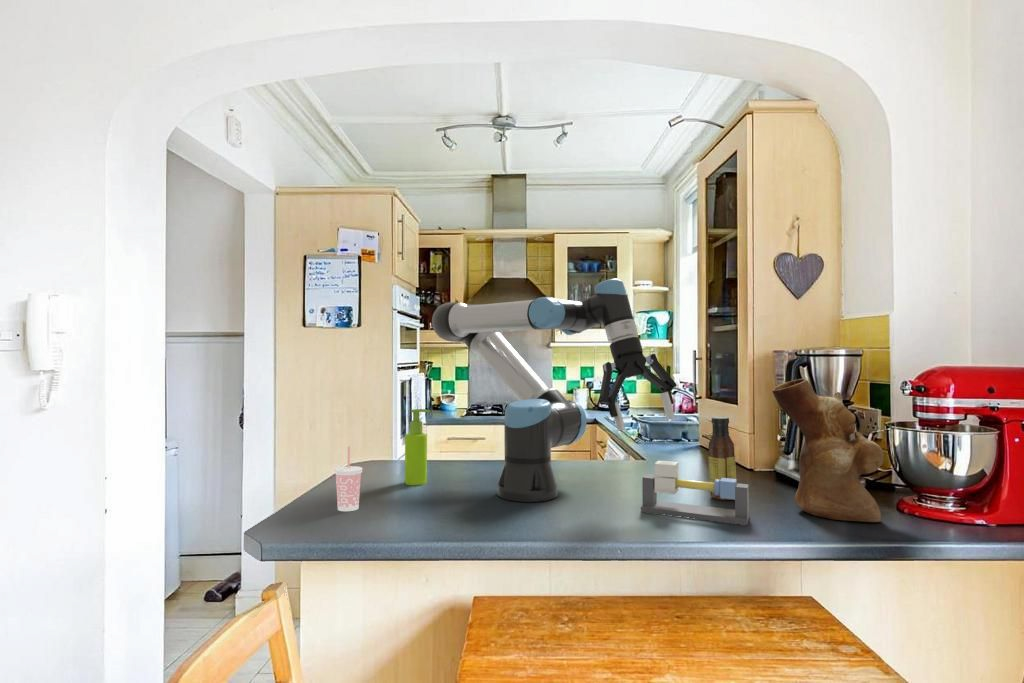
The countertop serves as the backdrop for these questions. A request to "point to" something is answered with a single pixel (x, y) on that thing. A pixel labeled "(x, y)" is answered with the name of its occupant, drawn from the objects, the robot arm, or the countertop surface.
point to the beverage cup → (348, 486)
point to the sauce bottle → (721, 453)
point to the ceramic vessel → (830, 455)
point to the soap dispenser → (416, 452)
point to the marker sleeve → (666, 477)
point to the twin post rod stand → (721, 488)
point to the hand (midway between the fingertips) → (646, 424)
